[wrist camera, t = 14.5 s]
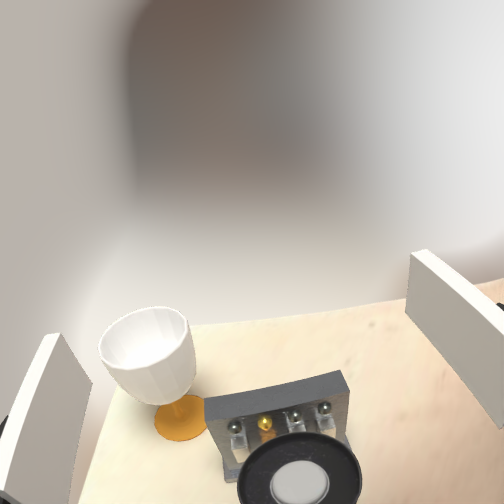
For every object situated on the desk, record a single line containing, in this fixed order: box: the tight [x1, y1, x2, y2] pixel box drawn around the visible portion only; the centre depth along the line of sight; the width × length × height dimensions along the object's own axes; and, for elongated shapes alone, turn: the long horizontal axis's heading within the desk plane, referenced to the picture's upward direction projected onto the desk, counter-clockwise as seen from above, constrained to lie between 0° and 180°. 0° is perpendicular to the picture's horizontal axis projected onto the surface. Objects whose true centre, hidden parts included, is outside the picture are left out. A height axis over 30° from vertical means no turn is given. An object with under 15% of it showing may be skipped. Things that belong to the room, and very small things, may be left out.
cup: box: [98, 306, 207, 441], centre depth 40 cm, size 12×12×17 cm
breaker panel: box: [204, 370, 352, 483], centre depth 32 cm, size 16×5×14 cm, turn 97°
